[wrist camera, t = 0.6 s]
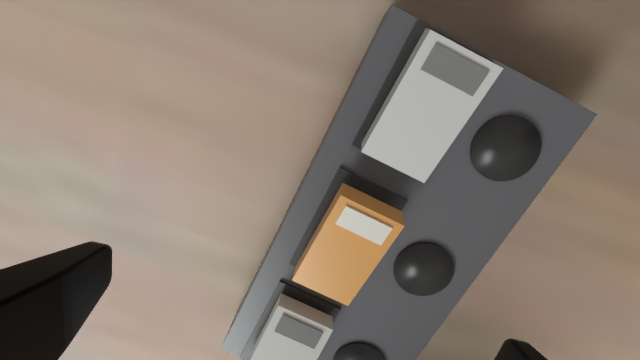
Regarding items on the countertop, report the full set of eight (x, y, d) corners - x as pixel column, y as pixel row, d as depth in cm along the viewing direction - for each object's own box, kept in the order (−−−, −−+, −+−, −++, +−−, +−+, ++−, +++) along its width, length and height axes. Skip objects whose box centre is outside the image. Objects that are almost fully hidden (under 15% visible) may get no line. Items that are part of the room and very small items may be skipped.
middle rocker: (349, 288, 18) (348, 307, 17) (296, 264, 18) (291, 281, 17) (402, 211, 16) (404, 227, 15) (342, 182, 16) (340, 196, 15)
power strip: (370, 374, 24) (373, 418, 21) (235, 314, 24) (219, 351, 21) (558, 106, 18) (600, 114, 15) (384, 14, 18) (392, 4, 15)
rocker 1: (290, 393, 20) (288, 413, 19) (240, 372, 20) (235, 390, 18) (332, 316, 19) (333, 331, 18) (281, 293, 19) (277, 306, 17)
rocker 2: (420, 172, 16) (424, 184, 15) (361, 142, 16) (360, 152, 15) (493, 63, 14) (504, 68, 13) (425, 28, 14) (430, 29, 13)
